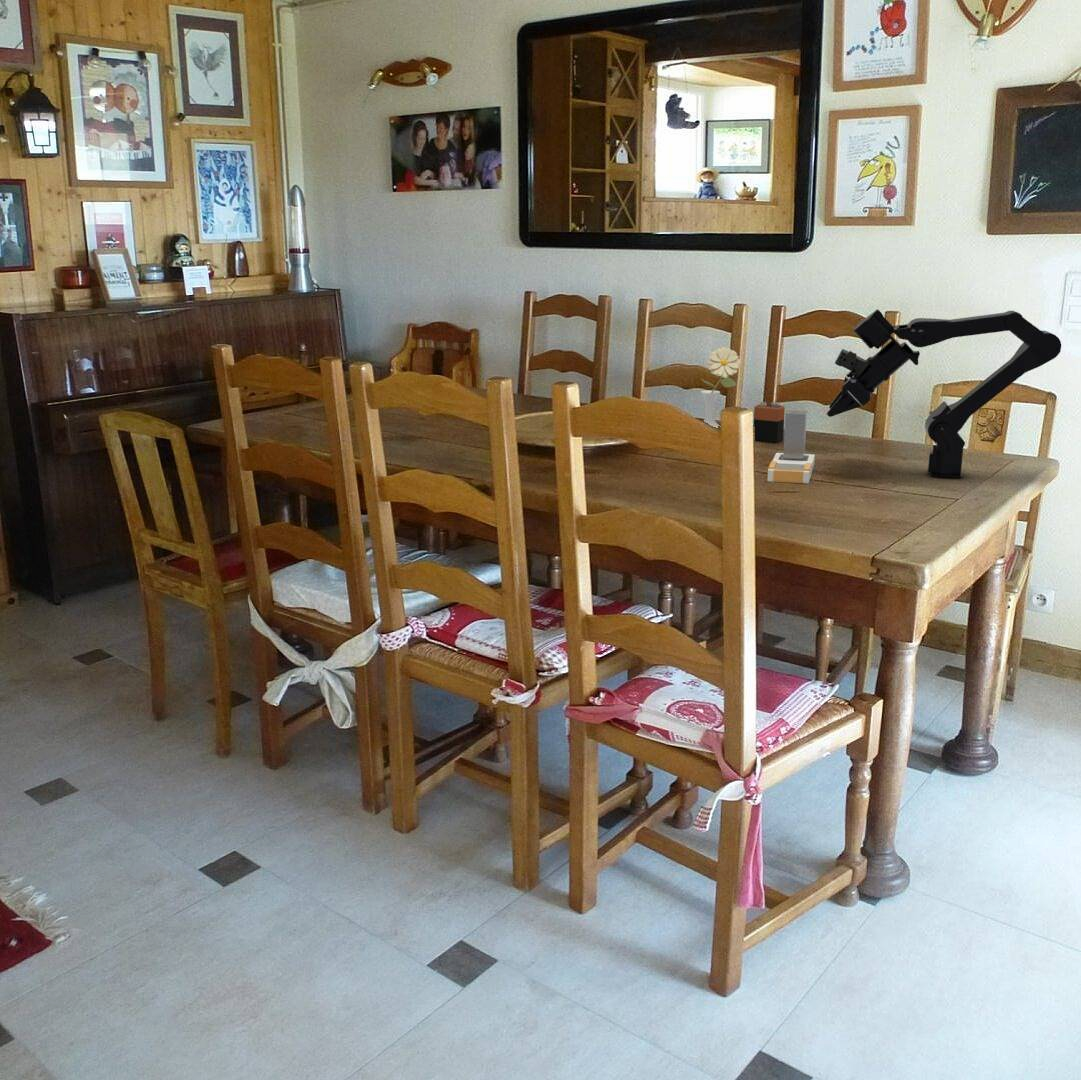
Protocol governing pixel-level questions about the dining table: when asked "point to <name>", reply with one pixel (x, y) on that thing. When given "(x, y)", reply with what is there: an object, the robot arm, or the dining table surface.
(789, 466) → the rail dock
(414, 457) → the dining table surface
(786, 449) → the metal peg
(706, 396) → the flower in vase
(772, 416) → the battery
